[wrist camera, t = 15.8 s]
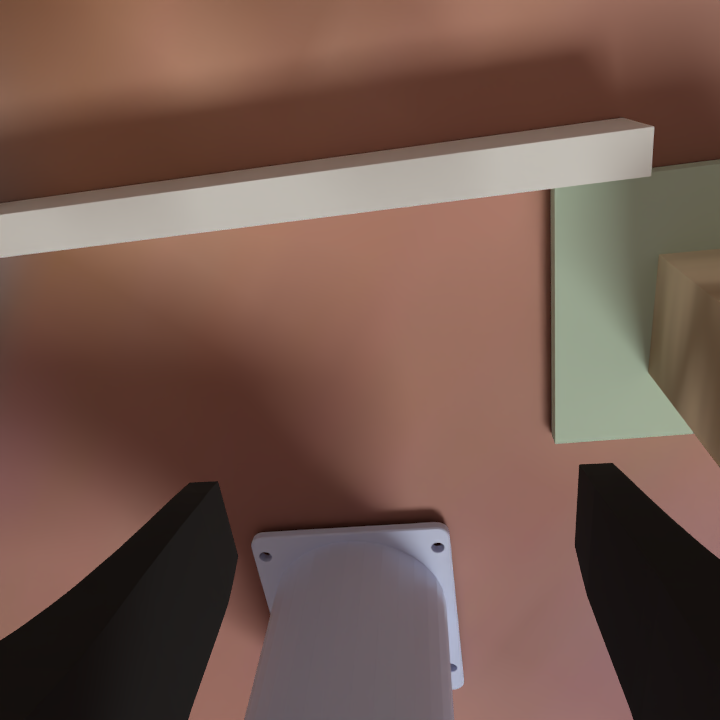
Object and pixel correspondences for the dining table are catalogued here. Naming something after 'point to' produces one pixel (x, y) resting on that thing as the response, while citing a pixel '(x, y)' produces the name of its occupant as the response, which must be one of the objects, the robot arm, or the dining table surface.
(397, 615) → the robot arm
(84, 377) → the dining table surface
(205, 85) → the dining table surface
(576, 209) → the sage mat
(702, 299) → the birch block
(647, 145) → the slot rack
